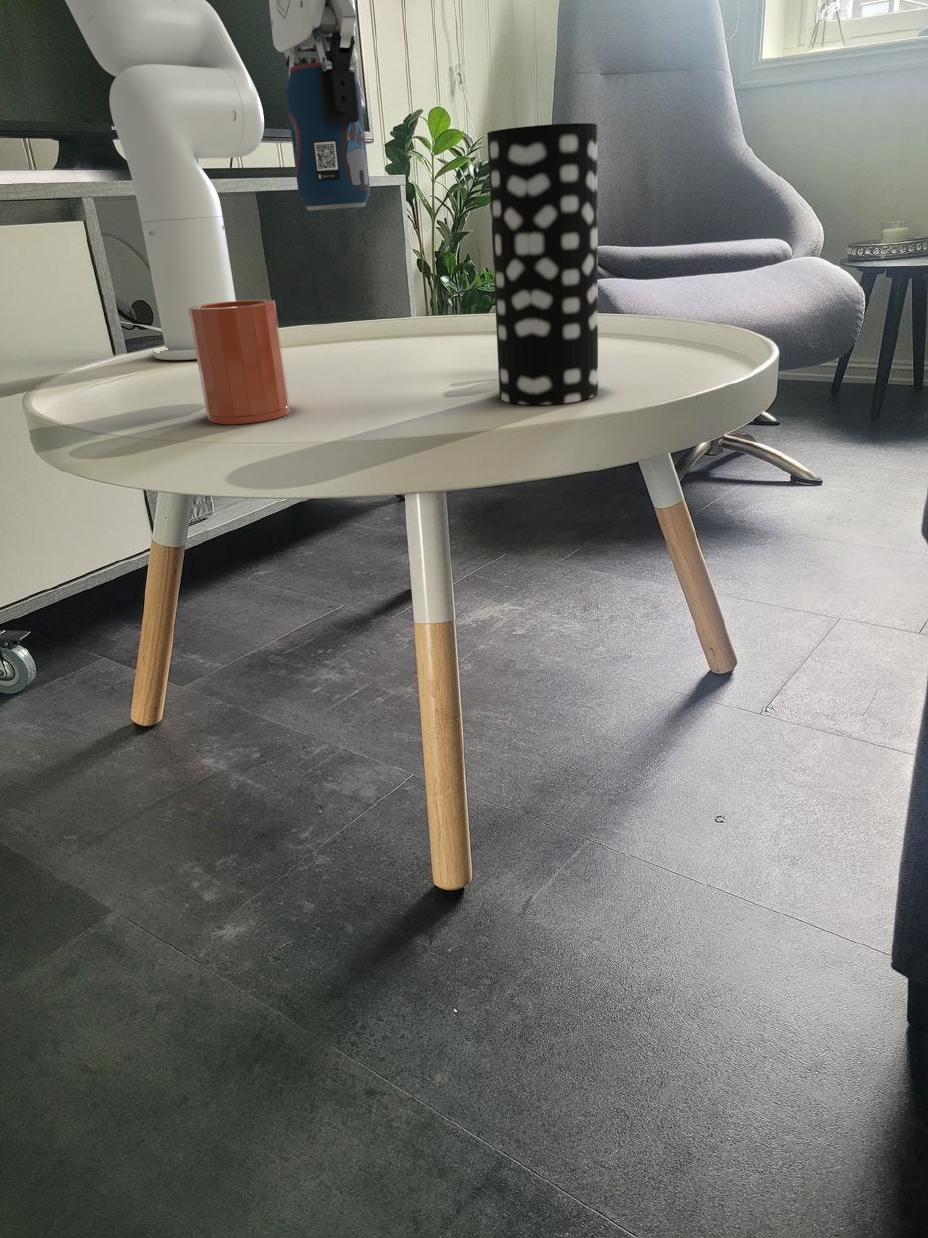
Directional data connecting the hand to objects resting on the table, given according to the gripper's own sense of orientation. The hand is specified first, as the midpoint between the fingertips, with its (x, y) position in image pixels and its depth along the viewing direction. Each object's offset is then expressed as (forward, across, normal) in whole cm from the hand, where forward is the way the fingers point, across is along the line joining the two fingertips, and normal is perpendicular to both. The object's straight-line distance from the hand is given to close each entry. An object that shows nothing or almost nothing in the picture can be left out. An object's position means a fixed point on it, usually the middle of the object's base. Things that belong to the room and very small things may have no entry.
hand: (326, 125), depth 87 cm
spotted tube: (+23, +26, +7) cm, 36 cm away
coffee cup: (+23, +14, -16) cm, 31 cm away
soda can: (+7, 0, 0) cm, 7 cm away
